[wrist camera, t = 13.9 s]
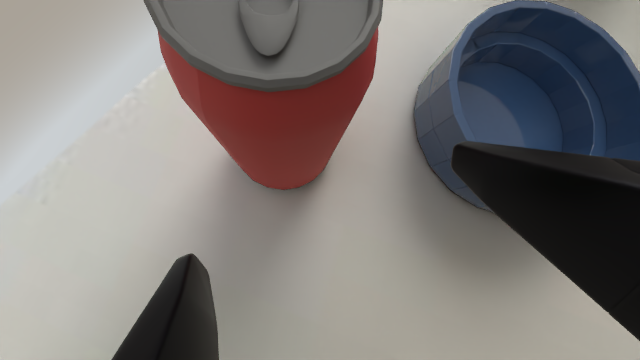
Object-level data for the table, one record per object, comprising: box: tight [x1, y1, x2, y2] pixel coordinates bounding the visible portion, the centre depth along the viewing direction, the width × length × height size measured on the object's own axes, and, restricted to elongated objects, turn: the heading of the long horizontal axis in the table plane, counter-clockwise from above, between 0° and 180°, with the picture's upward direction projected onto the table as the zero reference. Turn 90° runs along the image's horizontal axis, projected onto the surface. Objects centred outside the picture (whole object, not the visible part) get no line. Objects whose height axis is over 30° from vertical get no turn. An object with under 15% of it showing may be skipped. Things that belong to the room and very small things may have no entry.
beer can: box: [144, 0, 383, 190], centre depth 12 cm, size 7×7×12 cm
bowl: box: [414, 0, 640, 212], centre depth 17 cm, size 14×14×4 cm
